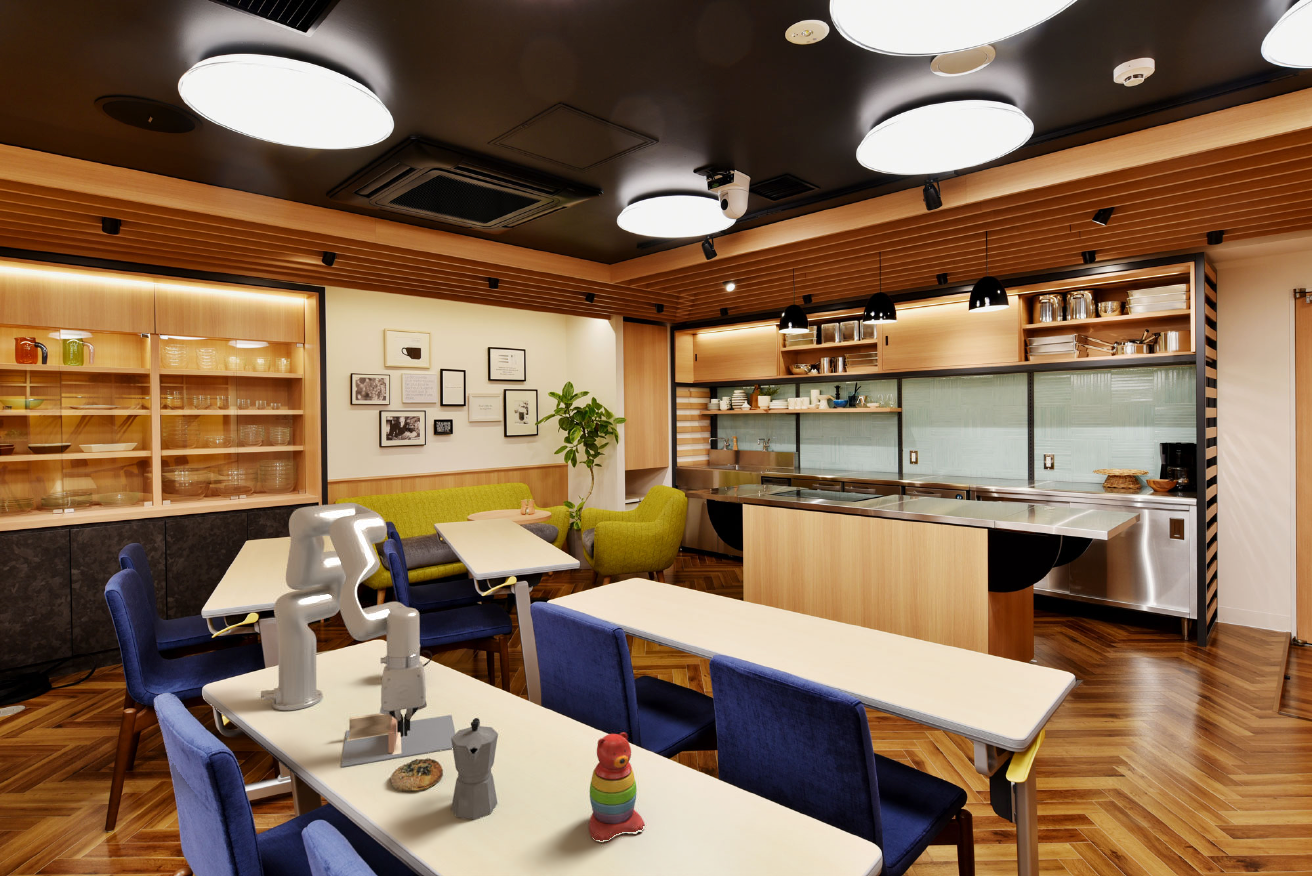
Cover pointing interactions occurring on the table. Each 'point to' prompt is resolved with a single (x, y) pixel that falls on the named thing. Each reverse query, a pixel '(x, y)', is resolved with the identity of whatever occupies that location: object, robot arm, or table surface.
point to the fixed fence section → (369, 725)
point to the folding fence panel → (393, 735)
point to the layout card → (401, 742)
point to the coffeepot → (474, 771)
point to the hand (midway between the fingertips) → (403, 734)
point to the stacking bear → (613, 790)
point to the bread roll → (417, 775)
